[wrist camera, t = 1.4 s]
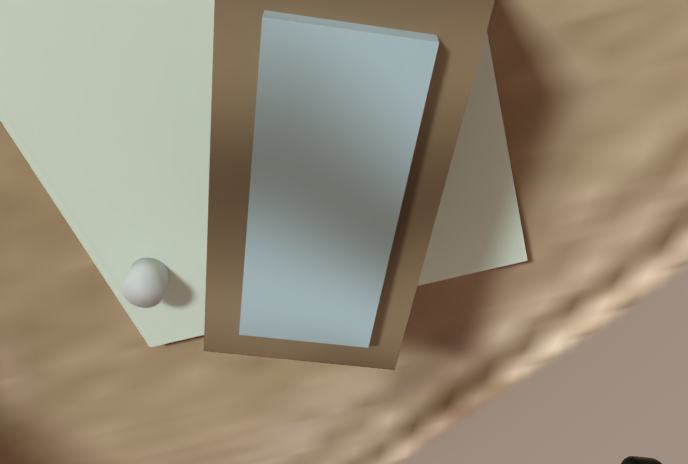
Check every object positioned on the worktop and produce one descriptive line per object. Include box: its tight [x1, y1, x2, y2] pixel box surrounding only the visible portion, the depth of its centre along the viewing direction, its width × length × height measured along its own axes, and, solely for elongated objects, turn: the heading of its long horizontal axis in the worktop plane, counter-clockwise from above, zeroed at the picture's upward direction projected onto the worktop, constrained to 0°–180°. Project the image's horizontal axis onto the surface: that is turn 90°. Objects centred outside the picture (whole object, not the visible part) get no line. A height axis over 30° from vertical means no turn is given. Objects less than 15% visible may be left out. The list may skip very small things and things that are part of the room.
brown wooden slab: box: [204, 0, 495, 370], centre depth 16 cm, size 10×5×5 cm, turn 172°
